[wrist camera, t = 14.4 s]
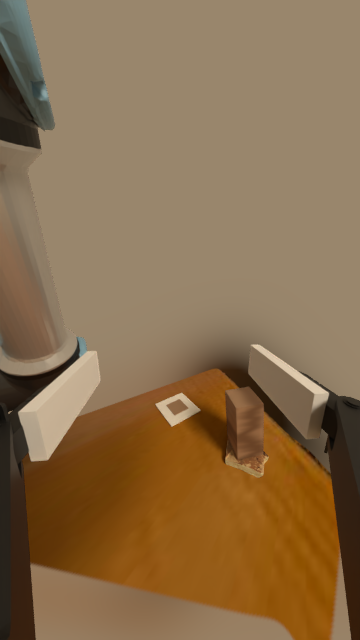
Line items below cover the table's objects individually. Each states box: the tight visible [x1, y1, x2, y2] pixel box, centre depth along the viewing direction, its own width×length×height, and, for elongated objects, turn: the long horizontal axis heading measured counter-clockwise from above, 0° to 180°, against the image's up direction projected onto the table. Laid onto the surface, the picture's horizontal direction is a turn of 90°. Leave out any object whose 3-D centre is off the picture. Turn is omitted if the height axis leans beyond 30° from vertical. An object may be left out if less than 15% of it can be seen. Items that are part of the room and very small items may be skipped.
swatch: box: [155, 393, 201, 427], centre depth 46 cm, size 9×9×1 cm
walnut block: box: [225, 387, 264, 459], centre depth 33 cm, size 5×5×11 cm
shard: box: [225, 439, 269, 477], centre depth 35 cm, size 11×8×2 cm
